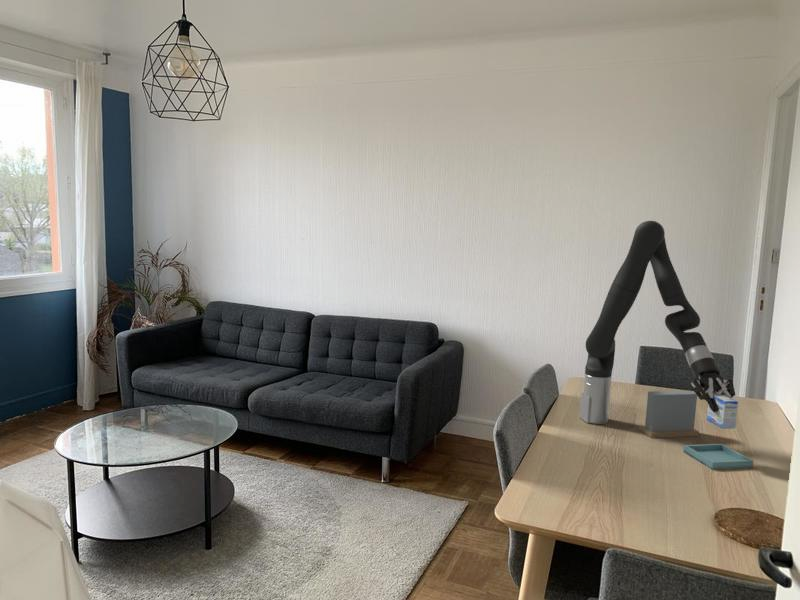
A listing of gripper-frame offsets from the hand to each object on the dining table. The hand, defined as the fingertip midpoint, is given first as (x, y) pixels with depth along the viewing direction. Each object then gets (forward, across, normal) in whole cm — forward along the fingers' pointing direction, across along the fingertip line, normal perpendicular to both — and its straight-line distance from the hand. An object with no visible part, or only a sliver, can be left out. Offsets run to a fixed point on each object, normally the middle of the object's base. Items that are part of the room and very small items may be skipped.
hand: (724, 410), depth 181 cm
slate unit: (-5, -1, +28) cm, 29 cm away
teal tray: (+11, 0, +12) cm, 16 cm away
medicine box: (+3, 0, +4) cm, 5 cm away
